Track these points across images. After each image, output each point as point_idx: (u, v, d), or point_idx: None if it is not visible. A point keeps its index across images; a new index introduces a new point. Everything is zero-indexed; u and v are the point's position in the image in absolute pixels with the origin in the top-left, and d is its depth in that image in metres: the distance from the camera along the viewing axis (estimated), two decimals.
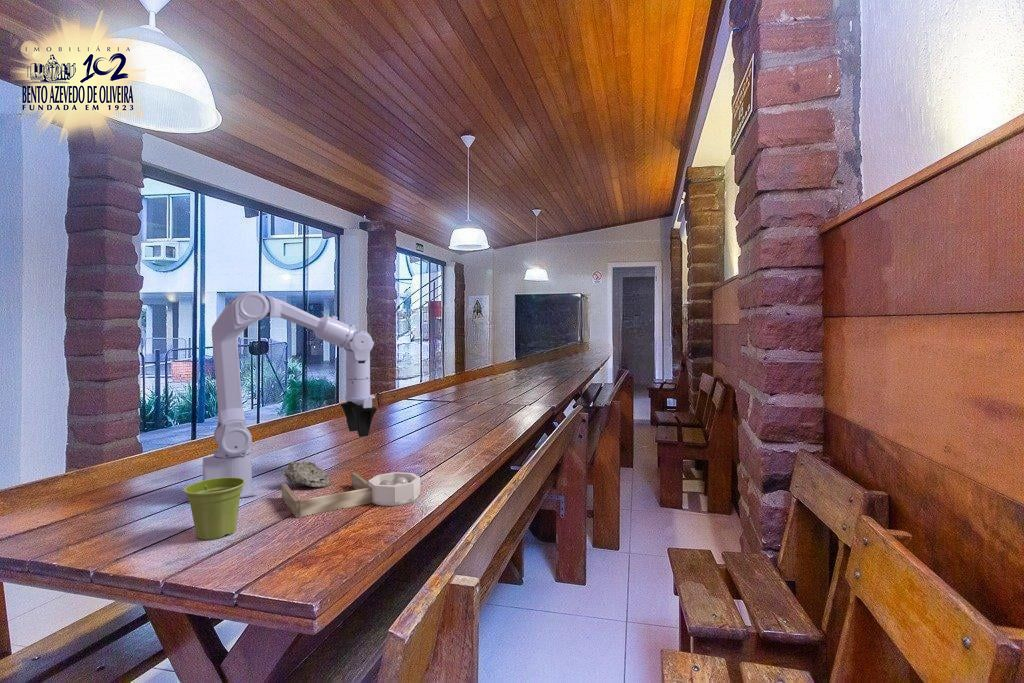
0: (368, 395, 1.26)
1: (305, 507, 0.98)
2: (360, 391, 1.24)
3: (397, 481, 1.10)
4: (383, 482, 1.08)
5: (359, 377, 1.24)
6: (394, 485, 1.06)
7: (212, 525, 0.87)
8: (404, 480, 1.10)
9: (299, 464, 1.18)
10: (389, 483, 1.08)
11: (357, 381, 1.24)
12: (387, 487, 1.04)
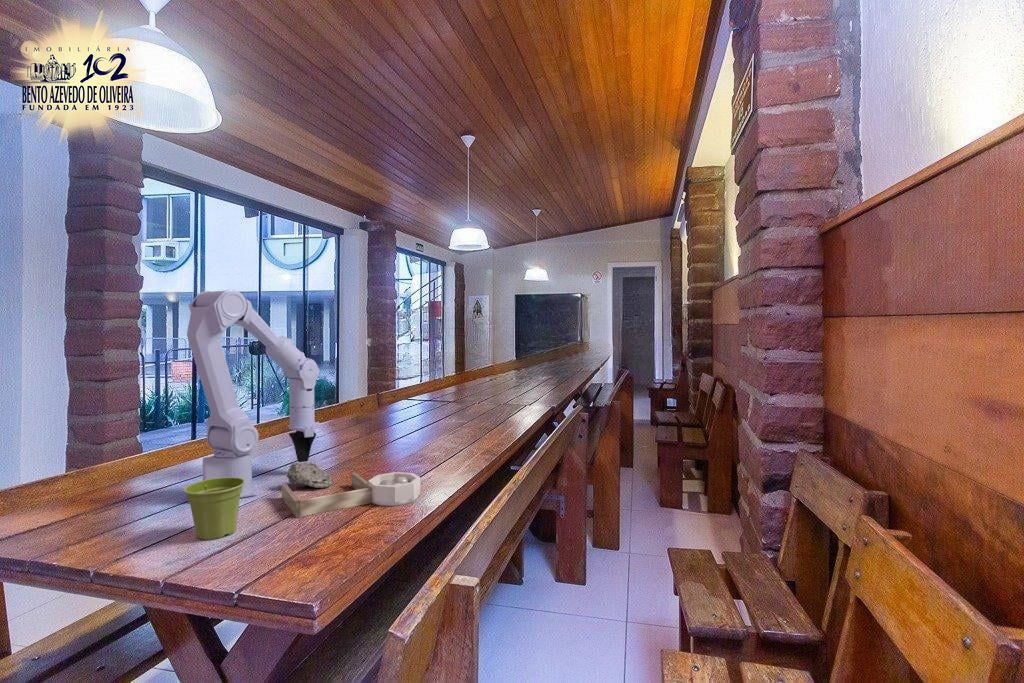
0: (312, 423, 1.26)
1: (305, 507, 0.98)
2: (303, 420, 1.24)
3: (397, 479, 1.10)
4: (383, 482, 1.08)
5: (307, 405, 1.25)
6: None
7: (212, 525, 0.87)
8: (404, 478, 1.11)
9: (301, 465, 1.17)
10: (389, 483, 1.08)
11: (300, 409, 1.24)
12: (387, 487, 1.04)
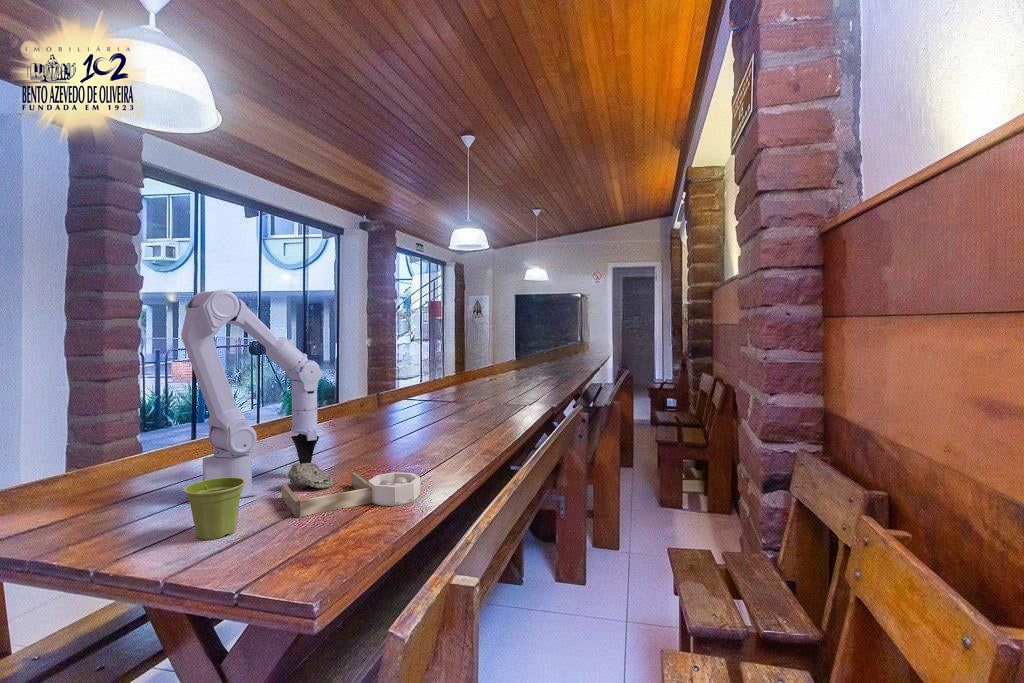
0: (315, 426, 1.24)
1: (305, 507, 0.98)
2: (306, 423, 1.22)
3: (396, 481, 1.10)
4: (383, 482, 1.08)
5: (308, 408, 1.22)
6: None
7: (212, 525, 0.87)
8: (403, 480, 1.10)
9: (302, 465, 1.17)
10: (389, 483, 1.08)
11: (302, 412, 1.21)
12: (387, 487, 1.04)
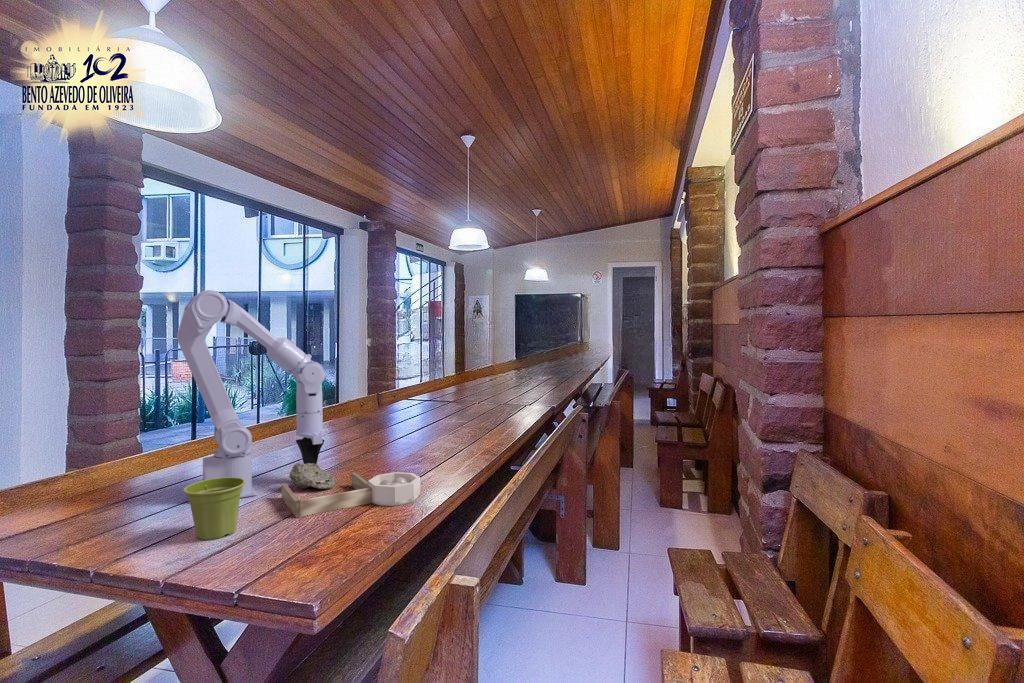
0: (320, 429, 1.20)
1: (305, 507, 0.98)
2: (311, 426, 1.18)
3: (395, 482, 1.09)
4: (383, 482, 1.08)
5: (310, 411, 1.17)
6: None
7: (212, 525, 0.87)
8: (402, 481, 1.10)
9: (303, 466, 1.16)
10: (389, 483, 1.08)
11: (307, 415, 1.17)
12: (387, 487, 1.04)
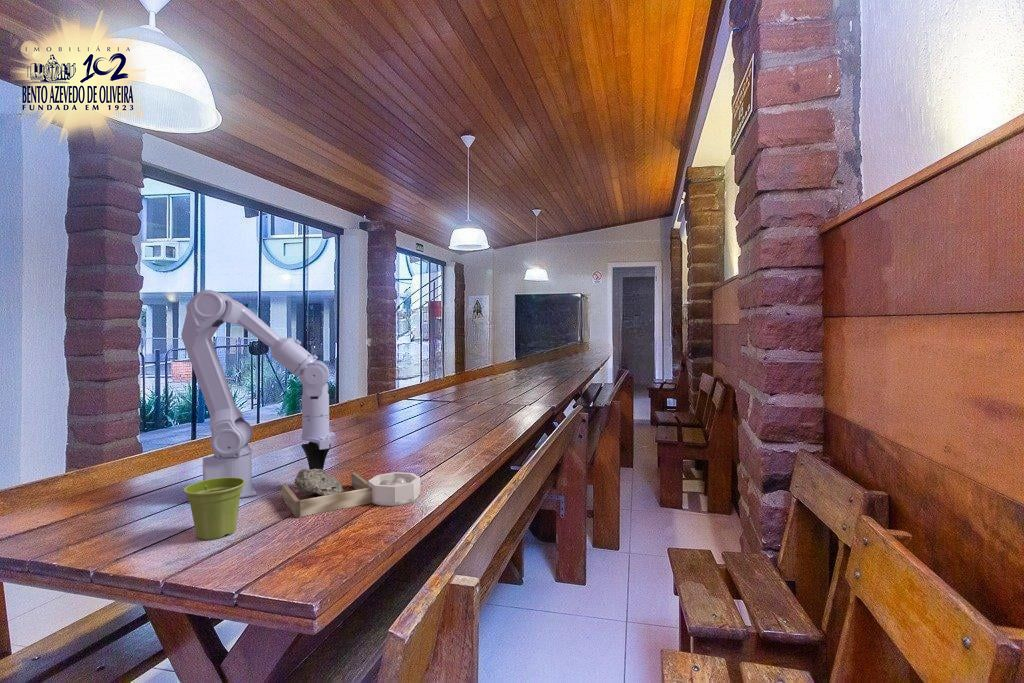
0: (327, 433, 1.15)
1: (305, 507, 0.98)
2: (317, 430, 1.13)
3: None
4: (383, 482, 1.08)
5: (311, 414, 1.13)
6: None
7: (212, 525, 0.87)
8: (401, 482, 1.09)
9: (309, 471, 1.11)
10: (389, 483, 1.08)
11: (314, 419, 1.13)
12: (387, 487, 1.04)
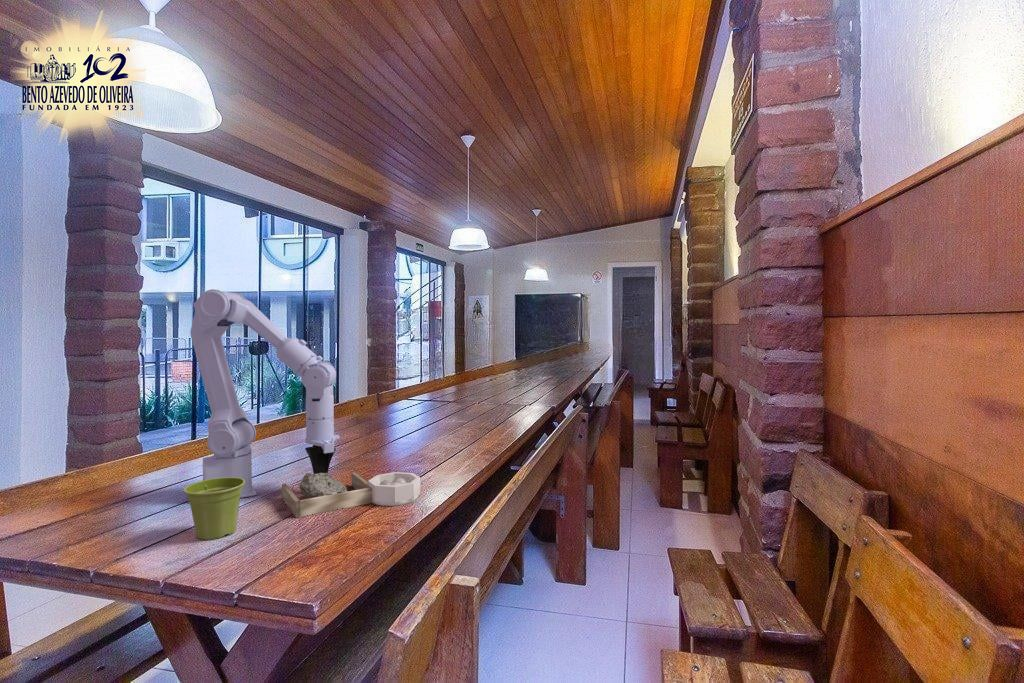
0: (331, 436, 1.12)
1: (305, 507, 0.98)
2: (321, 433, 1.10)
3: None
4: (383, 482, 1.08)
5: (313, 417, 1.09)
6: (391, 484, 1.07)
7: (212, 525, 0.87)
8: (401, 483, 1.09)
9: (315, 476, 1.08)
10: (389, 483, 1.08)
11: (318, 421, 1.09)
12: (387, 487, 1.04)
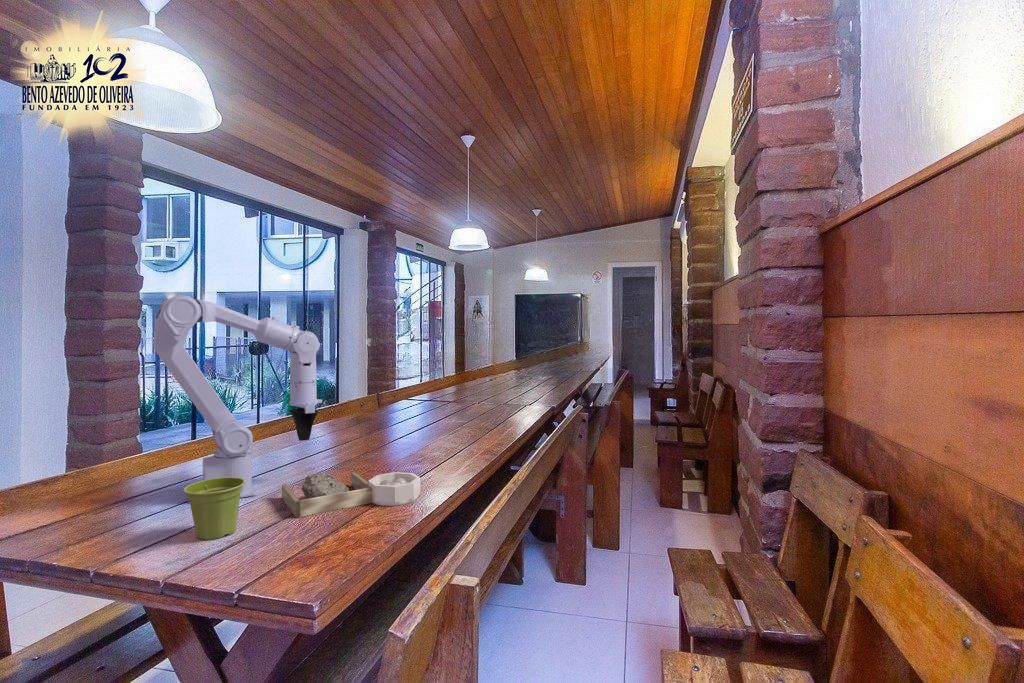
0: (313, 399, 1.19)
1: (305, 507, 0.98)
2: (304, 395, 1.17)
3: None
4: (383, 483, 1.08)
5: (304, 380, 1.17)
6: (391, 484, 1.07)
7: (212, 525, 0.87)
8: (402, 483, 1.09)
9: (317, 477, 1.08)
10: (389, 484, 1.08)
11: (301, 385, 1.17)
12: (387, 487, 1.04)
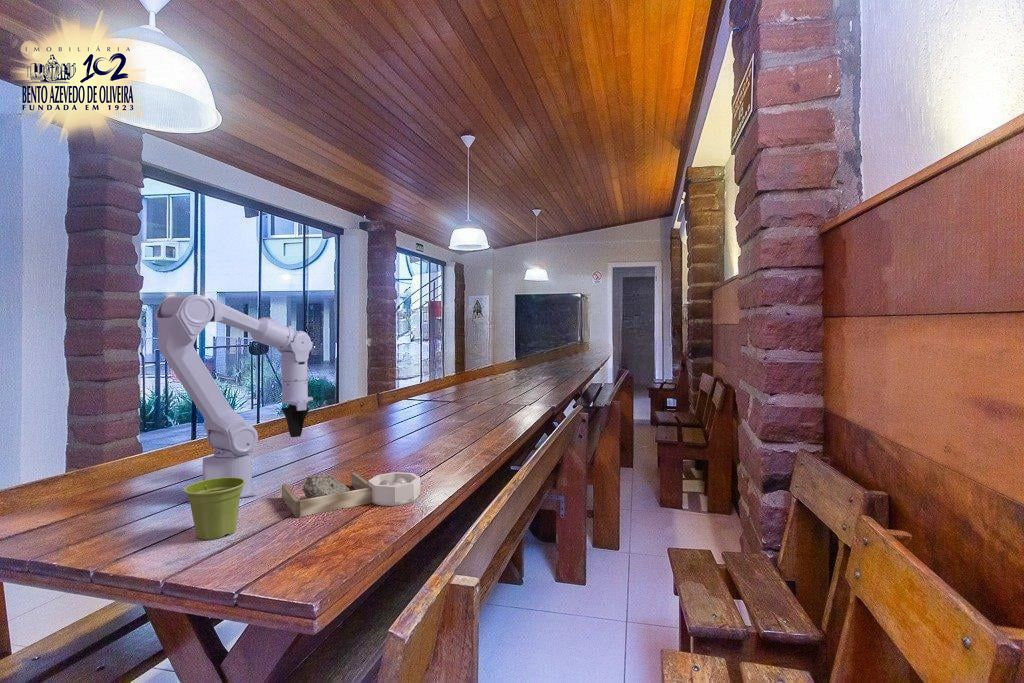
0: (305, 397, 1.23)
1: (305, 507, 0.98)
2: (295, 393, 1.21)
3: None
4: (383, 483, 1.08)
5: (299, 378, 1.22)
6: None
7: (212, 525, 0.87)
8: (402, 483, 1.09)
9: (318, 478, 1.07)
10: (389, 483, 1.08)
11: (292, 383, 1.21)
12: (387, 487, 1.04)
